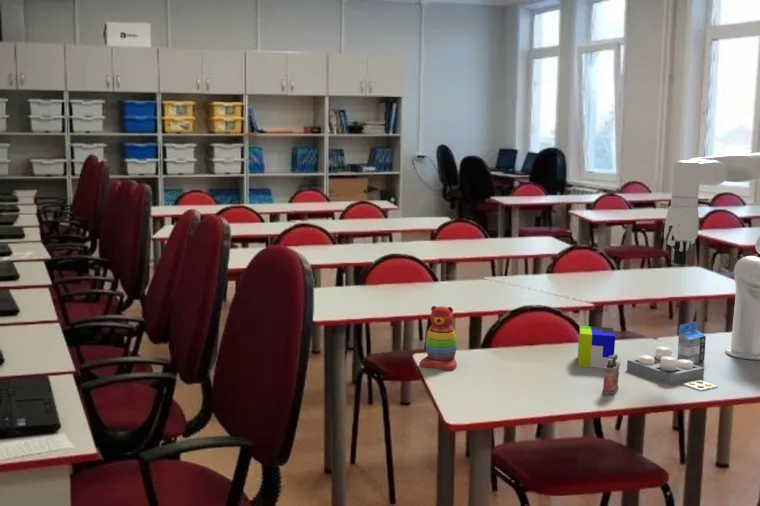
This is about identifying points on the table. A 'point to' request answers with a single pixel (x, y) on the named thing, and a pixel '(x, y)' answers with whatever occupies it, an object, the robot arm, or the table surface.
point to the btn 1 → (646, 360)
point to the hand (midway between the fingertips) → (679, 263)
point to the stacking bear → (441, 340)
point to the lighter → (611, 376)
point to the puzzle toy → (595, 345)
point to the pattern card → (700, 385)
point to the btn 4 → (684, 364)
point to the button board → (665, 372)
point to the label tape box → (691, 343)
